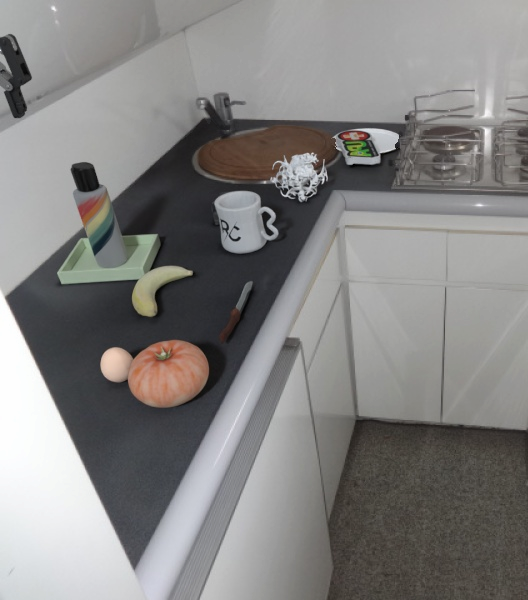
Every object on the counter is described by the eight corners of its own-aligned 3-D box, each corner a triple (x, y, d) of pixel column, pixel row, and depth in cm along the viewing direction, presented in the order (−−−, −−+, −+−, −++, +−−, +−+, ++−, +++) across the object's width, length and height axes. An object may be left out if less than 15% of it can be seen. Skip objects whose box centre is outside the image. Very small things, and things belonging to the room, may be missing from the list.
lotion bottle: (97, 257, 115) (63, 161, 103) (127, 251, 117) (98, 156, 105) (97, 271, 111) (62, 172, 99) (129, 265, 113) (98, 167, 101)
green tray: (61, 284, 108) (56, 272, 107) (84, 248, 119) (80, 238, 117) (146, 278, 110) (142, 267, 108) (160, 244, 120) (158, 233, 119)
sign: (382, 157, 150) (344, 159, 148) (382, 163, 151) (344, 166, 149) (368, 129, 167) (334, 131, 166) (368, 135, 169) (334, 137, 167)
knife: (249, 286, 108) (247, 272, 106) (257, 286, 108) (255, 272, 106) (218, 350, 93) (215, 335, 91) (227, 350, 93) (224, 335, 91)
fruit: (117, 318, 100) (112, 302, 98) (159, 271, 112) (155, 256, 110) (157, 322, 99) (152, 306, 97) (195, 274, 111) (191, 259, 109)
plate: (329, 158, 158) (329, 154, 157) (331, 132, 175) (331, 128, 174) (406, 156, 159) (406, 152, 158) (400, 131, 176) (400, 127, 175)
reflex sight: (237, 203, 136) (232, 183, 133) (233, 222, 128) (228, 201, 125) (220, 205, 136) (215, 185, 133) (215, 224, 127) (209, 203, 124)
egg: (128, 365, 90) (118, 336, 86) (144, 377, 87) (134, 348, 84) (101, 380, 87) (89, 350, 84) (116, 393, 85) (104, 364, 81)
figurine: (335, 152, 135) (334, 202, 138) (298, 146, 144) (298, 192, 148) (289, 154, 126) (289, 206, 130) (253, 146, 136) (254, 196, 140)
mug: (214, 252, 118) (204, 207, 112) (235, 231, 125) (227, 188, 119) (271, 259, 115) (264, 214, 110) (289, 238, 123) (283, 194, 117)
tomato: (119, 400, 83) (103, 358, 79) (181, 359, 91) (169, 318, 86) (168, 432, 78) (154, 389, 74) (229, 385, 86) (219, 344, 81)
